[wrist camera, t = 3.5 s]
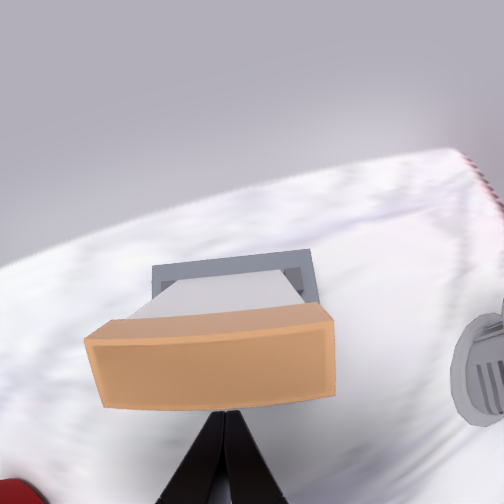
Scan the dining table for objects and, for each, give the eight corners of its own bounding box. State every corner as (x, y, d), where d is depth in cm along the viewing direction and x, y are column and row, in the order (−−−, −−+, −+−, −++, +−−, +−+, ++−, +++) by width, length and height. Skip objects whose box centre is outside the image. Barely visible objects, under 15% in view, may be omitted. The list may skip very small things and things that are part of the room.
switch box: (316, 390, 18) (337, 394, 13) (181, 402, 18) (149, 409, 13) (300, 277, 22) (312, 240, 16) (175, 290, 22) (145, 258, 16)
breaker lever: (284, 297, 16) (335, 395, 6) (183, 307, 16) (103, 407, 6) (281, 263, 16) (333, 319, 6) (178, 274, 16) (83, 339, 6)
